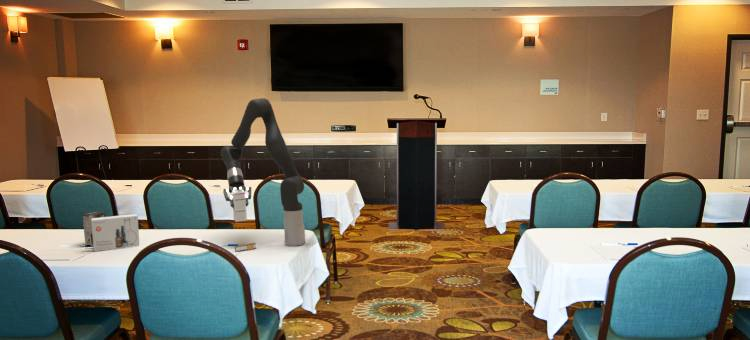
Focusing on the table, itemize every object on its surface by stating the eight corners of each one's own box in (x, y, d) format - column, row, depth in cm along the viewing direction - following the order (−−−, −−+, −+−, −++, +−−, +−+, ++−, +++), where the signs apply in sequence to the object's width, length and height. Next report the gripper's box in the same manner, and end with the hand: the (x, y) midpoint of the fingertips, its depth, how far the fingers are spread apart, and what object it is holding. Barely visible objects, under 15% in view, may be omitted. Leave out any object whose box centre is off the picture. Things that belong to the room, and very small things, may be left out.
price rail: (254, 247, 291) (254, 242, 291) (256, 248, 289) (256, 243, 289) (234, 251, 286) (234, 246, 285) (236, 252, 284) (236, 247, 284)
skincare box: (94, 252, 291) (91, 220, 289) (93, 249, 296) (90, 218, 294) (140, 246, 301) (137, 215, 299) (138, 243, 306) (136, 213, 304)
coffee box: (101, 241, 313) (99, 211, 311) (108, 242, 310) (105, 212, 308) (84, 245, 306) (81, 214, 304) (91, 246, 302) (88, 215, 300)
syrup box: (247, 220, 292) (245, 191, 290) (234, 221, 290) (233, 192, 288) (245, 218, 298) (243, 189, 296) (233, 219, 296) (231, 190, 294)
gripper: (221, 175, 296) (225, 203, 286) (250, 173, 300) (255, 200, 291) (220, 184, 301) (224, 212, 292) (249, 182, 306) (254, 209, 297)
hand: (239, 206), depth 291 cm, fingers closed on syrup box, 6 cm apart
